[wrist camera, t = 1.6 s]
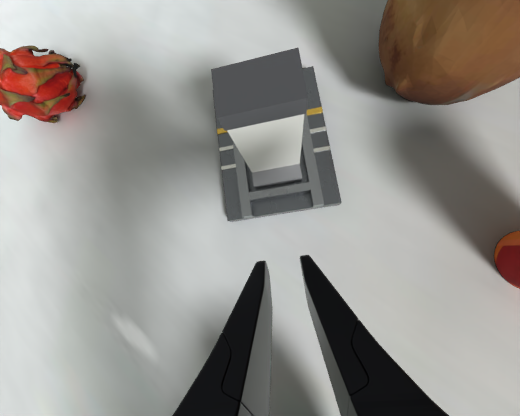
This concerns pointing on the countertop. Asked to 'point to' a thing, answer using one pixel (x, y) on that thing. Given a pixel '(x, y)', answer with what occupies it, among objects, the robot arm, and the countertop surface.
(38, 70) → the dragon fruit
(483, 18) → the butternut squash
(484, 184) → the countertop surface
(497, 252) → the paper cup
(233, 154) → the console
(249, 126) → the plate
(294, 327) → the countertop surface
